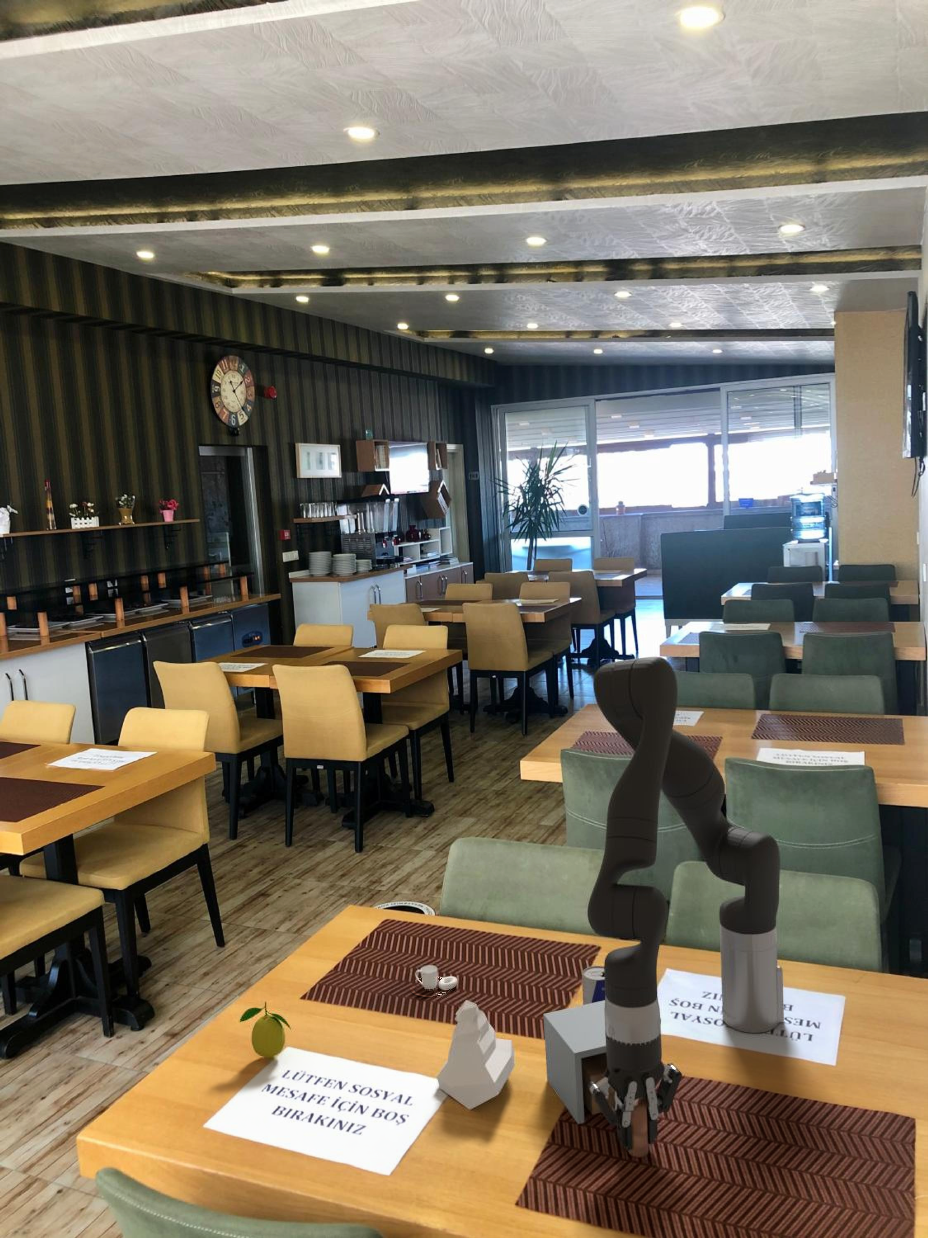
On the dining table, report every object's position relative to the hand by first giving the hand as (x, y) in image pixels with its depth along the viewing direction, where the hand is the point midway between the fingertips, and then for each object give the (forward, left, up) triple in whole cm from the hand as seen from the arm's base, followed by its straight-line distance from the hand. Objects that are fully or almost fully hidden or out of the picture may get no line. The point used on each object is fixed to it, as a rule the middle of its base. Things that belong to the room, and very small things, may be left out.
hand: (637, 1143), depth 140 cm
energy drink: (-7, -28, -1) cm, 29 cm away
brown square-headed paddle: (0, -7, -1) cm, 7 cm away
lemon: (+46, -45, -1) cm, 64 cm away
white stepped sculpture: (+16, -24, -1) cm, 29 cm away
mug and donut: (+14, -54, -2) cm, 56 cm away
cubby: (0, -15, -1) cm, 15 cm away
